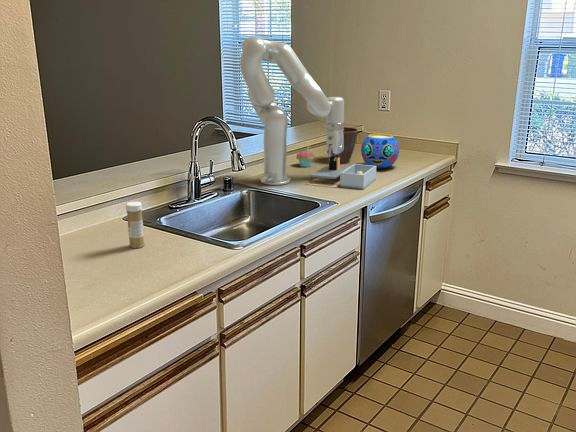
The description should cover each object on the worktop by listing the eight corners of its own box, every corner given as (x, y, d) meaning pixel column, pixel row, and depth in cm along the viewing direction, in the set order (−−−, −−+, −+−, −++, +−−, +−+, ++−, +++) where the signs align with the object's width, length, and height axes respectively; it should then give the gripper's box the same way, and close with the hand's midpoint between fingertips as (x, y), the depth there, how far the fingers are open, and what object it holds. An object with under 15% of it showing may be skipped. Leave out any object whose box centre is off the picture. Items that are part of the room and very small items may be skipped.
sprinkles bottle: (130, 243, 180) (127, 201, 176) (145, 243, 181) (142, 200, 177) (128, 249, 176) (124, 205, 172) (143, 248, 177) (140, 205, 172)
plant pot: (335, 157, 299) (336, 125, 294) (362, 161, 291) (363, 128, 286) (320, 162, 287) (321, 130, 282) (347, 166, 279) (348, 133, 274)
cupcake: (317, 165, 282) (317, 140, 278) (308, 168, 275) (308, 143, 272) (301, 163, 286) (302, 138, 283) (292, 166, 280) (292, 141, 276)
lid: (335, 180, 243) (335, 165, 241) (310, 178, 248) (310, 163, 246) (350, 170, 260) (350, 156, 258) (326, 168, 264) (326, 154, 262)
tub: (363, 189, 240) (363, 175, 238) (340, 186, 244) (340, 172, 242) (375, 179, 256) (376, 165, 254) (353, 177, 259) (354, 163, 258)
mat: (336, 187, 242) (336, 186, 242) (306, 184, 248) (306, 183, 247) (352, 176, 262) (352, 175, 261) (325, 173, 267) (325, 172, 267)
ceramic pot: (357, 170, 272) (358, 138, 267) (364, 162, 288) (365, 131, 283) (395, 172, 267) (397, 140, 262) (400, 164, 283) (402, 133, 279)
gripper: (336, 130, 243) (336, 173, 248) (349, 124, 257) (348, 165, 262) (319, 129, 246) (319, 172, 251) (333, 123, 260) (332, 164, 265)
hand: (334, 168), depth 257 cm, fingers closed on lid, 3 cm apart
